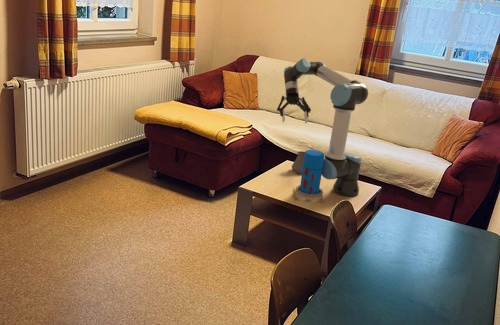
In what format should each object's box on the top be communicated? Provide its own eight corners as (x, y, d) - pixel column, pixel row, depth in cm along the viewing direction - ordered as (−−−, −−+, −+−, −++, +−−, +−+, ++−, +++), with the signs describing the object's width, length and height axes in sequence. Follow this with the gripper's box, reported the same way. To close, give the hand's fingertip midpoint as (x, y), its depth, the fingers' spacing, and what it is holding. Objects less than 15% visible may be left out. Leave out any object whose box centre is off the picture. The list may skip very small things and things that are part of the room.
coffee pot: (289, 168, 319) (292, 146, 314) (307, 169, 320) (310, 147, 315) (294, 179, 298) (297, 156, 294) (313, 181, 300) (316, 158, 295)
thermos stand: (321, 192, 283) (322, 186, 282) (324, 203, 268) (325, 196, 267) (293, 189, 283) (294, 183, 282) (295, 199, 268) (296, 193, 267)
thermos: (308, 189, 283) (314, 148, 275) (322, 196, 275) (328, 154, 267) (295, 193, 276) (300, 151, 268) (309, 199, 268) (315, 157, 260)
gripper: (310, 95, 296) (313, 125, 287) (270, 92, 292) (272, 123, 282) (313, 88, 290) (317, 119, 281) (273, 85, 285) (275, 116, 276)
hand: (295, 121), depth 282 cm, fingers open, 13 cm apart
